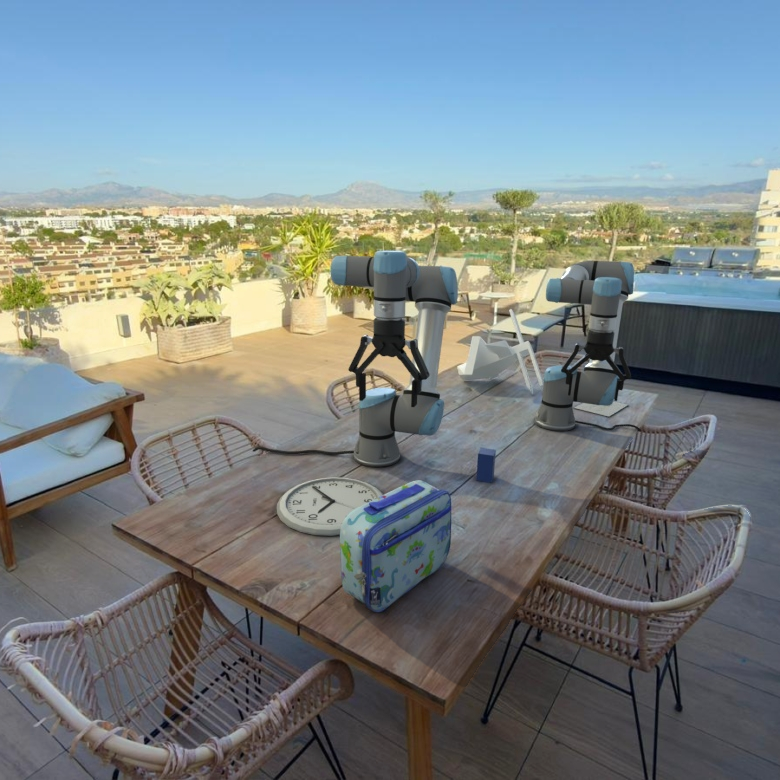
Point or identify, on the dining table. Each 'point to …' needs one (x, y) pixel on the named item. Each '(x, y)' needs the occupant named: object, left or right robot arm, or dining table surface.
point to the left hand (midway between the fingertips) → (387, 402)
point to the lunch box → (394, 543)
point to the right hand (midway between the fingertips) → (592, 397)
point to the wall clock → (323, 504)
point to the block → (485, 465)
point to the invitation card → (602, 408)
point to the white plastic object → (498, 358)
